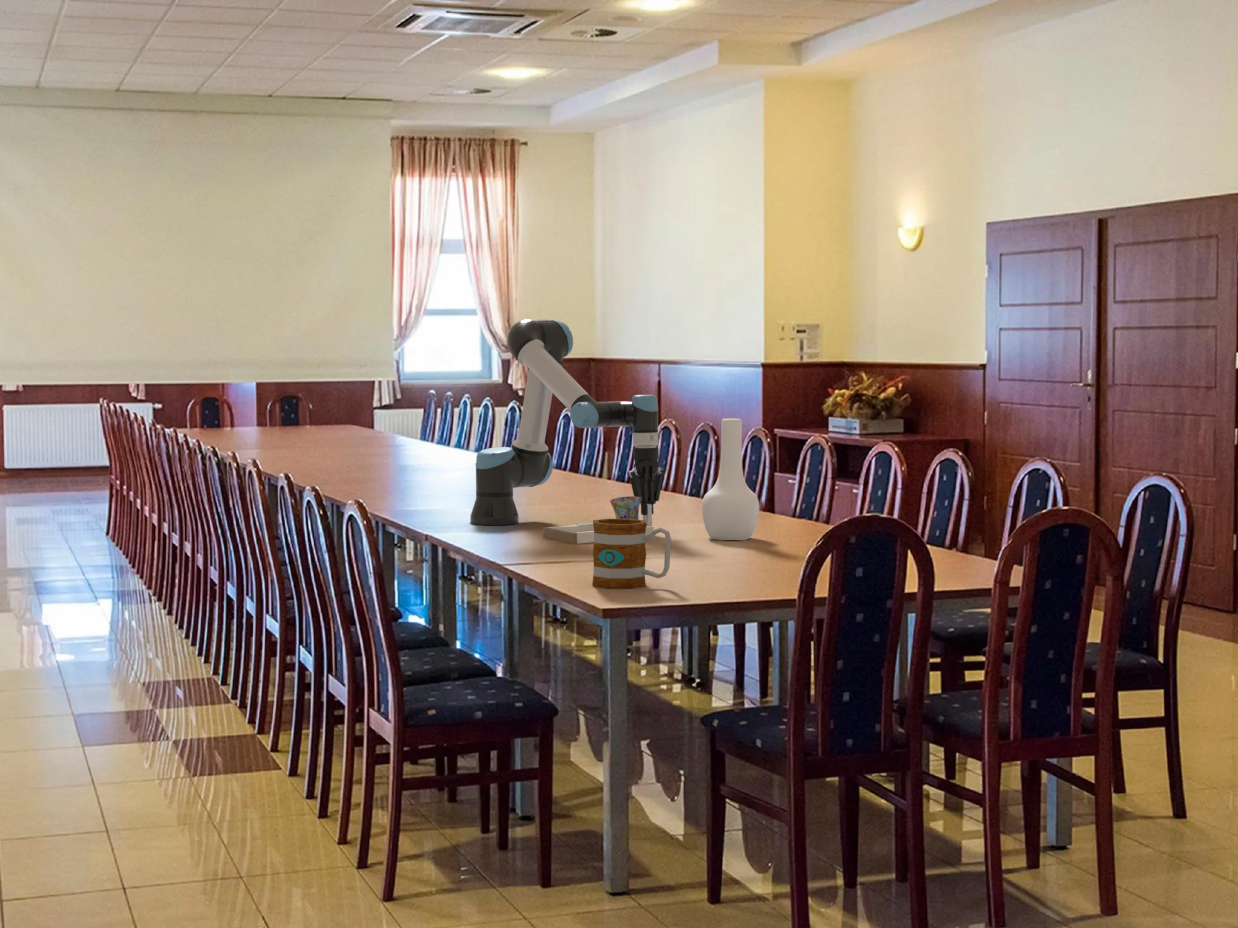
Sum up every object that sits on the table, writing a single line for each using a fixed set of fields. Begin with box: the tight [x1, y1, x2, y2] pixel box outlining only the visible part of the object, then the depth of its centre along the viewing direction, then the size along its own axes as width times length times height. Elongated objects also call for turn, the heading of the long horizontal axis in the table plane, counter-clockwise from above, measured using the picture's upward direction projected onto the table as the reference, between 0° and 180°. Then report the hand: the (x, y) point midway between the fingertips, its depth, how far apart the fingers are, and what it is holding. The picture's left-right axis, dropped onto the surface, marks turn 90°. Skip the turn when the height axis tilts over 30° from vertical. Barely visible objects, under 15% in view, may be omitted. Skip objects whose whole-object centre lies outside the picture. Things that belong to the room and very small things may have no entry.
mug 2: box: [592, 518, 673, 590], centre depth 374 cm, size 20×14×15 cm
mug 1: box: [609, 495, 641, 520], centre depth 470 cm, size 12×9×11 cm
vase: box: [701, 418, 760, 541], centre depth 464 cm, size 17×17×35 cm
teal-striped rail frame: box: [542, 522, 655, 545], centre depth 465 cm, size 22×28×3 cm
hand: (647, 525), depth 474 cm, fingers closed
